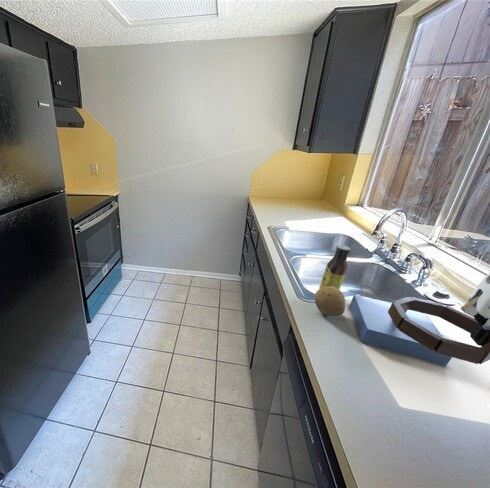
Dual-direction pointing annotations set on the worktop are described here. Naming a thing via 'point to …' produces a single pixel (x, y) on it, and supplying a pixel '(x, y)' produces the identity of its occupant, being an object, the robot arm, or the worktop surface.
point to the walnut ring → (431, 339)
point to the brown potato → (330, 301)
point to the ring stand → (392, 329)
